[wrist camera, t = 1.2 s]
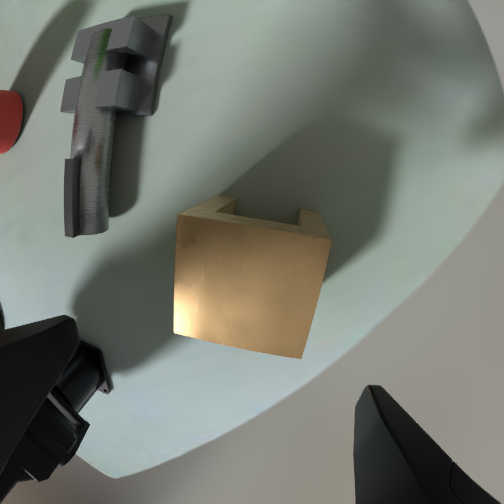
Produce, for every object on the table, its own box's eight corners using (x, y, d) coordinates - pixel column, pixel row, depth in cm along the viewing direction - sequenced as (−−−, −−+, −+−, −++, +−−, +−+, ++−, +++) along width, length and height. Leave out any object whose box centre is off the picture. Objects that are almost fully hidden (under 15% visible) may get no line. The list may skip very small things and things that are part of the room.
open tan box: (300, 299, 19) (301, 358, 13) (209, 282, 20) (173, 332, 14) (319, 212, 17) (332, 239, 11) (217, 195, 18) (177, 213, 12)
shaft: (142, 228, 19) (109, 245, 15) (73, 217, 20) (38, 229, 16) (172, 16, 14) (146, -9, 10) (97, 31, 15) (66, 16, 11)
